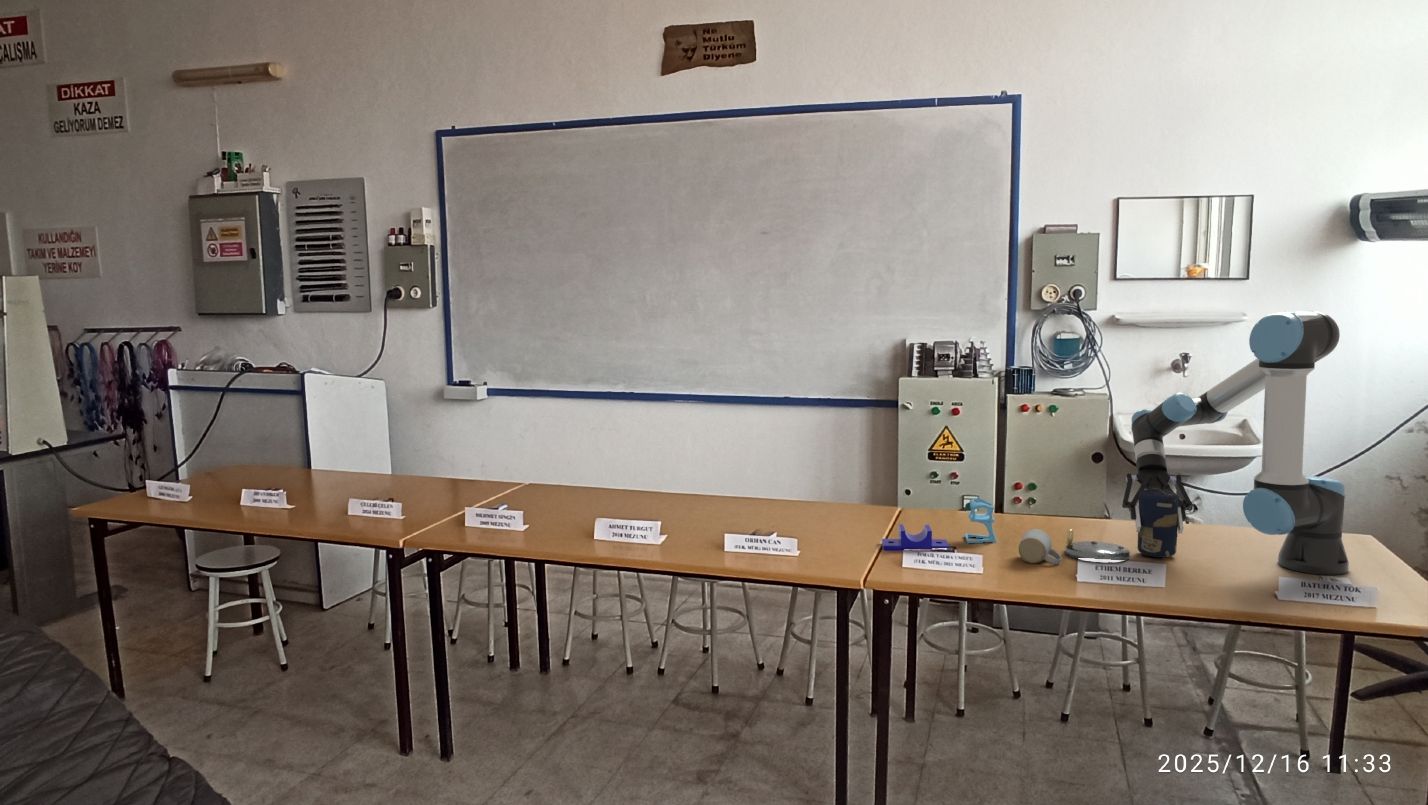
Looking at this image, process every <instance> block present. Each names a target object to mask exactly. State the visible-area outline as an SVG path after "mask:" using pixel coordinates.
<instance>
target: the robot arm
mask: <svg viewBox="0 0 1428 805" xmlns="http://www.w3.org/2000/svg"><path fill="white" fill-rule="evenodd" d="M1340 336H1341V335H1340V329H1339V325H1338V324H1337V322H1336V321H1335V319H1333V318H1332V317H1331V316H1330V315H1328V314H1327V313H1324V312H1321V311H1316V310H1309V311H1308V310H1307V311H1284V312H1283V311H1282V312H1276V313H1275V312H1274V313H1272V314H1268V315H1265V316H1263V317H1262V318H1260V320H1259V321H1258V322H1257V321H1256V323H1255V324H1254V326H1253V327H1252V329H1251V331H1250V334H1249V340H1248V344H1249V348H1250V351H1251V353H1253V355H1254V357H1255V358H1256V359H1254V360H1253V361H1251V362H1249V363H1248V364H1247V365H1245V366H1243V367H1242V368H1241V369H1239V370H1237V371H1236V372H1234V373H1233V374H1231V375H1230V376H1228V377H1227V378H1225V379H1224V380H1222V381H1221V382H1219V383H1218V384H1216V385H1214V386H1213V387H1211V388H1210V389H1209V390H1207V391H1205V392H1204V393H1202V394H1201V395H1199V396H1195V397H1190V396H1189V395H1188V394H1185V393H1183V392H1177V393H1174V394H1173V395H1171V396H1168V397H1167V398H1166V399H1165V400H1164V401H1162V403H1161V404H1159V405H1157V406H1156V407H1154V409H1150V408H1148V409H1147V408H1144V409H1141V410H1138V411H1136V412H1135V413H1133V414H1132V416H1131V433H1132V440H1133V447H1134V448H1133V449H1134V457H1135V461H1136V462H1135V465H1136V473H1137V474H1131V473H1130V472H1129V473H1126V476H1125V484H1126V488H1125V491H1124V496H1123V500H1122V504H1121V507H1122V509H1128V511H1129V514H1130V516H1129V517H1130V519H1131V520H1132V521H1133V520H1134V521H1135V522H1134V523H1135V530H1136V533H1138V532H1140V529H1141V523H1140V514H1139V505H1138V504H1139V494H1140V492H1141V491H1143V490H1149V489H1153V488H1159V489H1161V490H1167V491H1171V492H1174V493H1175V491H1174V490H1173V489H1172V488H1171V486H1170V484H1169V482H1171V484H1172V485H1173V486H1174V488H1175V490H1176V493H1177V495H1178V530H1177V533H1178V535H1179V534H1180V535H1182V534H1183V531H1184V522H1186V519H1187V514H1186V511H1190V510H1191V508H1192V505H1193V503H1192V501H1191V499H1190V496H1189V494H1188V492H1187V491H1186V489H1185V486H1184V484H1183V483H1182V476H1181V475H1180V474H1177V475H1176V476H1173V475H1172V476H1171V475H1170V474H1169V473H1168V467H1167V465H1168V464H1167V460H1166V452H1165V446H1164V445H1165V444H1164V437H1165V436H1167V435H1169V434H1170V433H1171V432H1173V431H1174V430H1176V429H1177V428H1180V427H1185V426H1195V425H1206V424H1215V423H1218V422H1221V421H1223V420H1224V419H1225V418H1226V417H1227V415H1228V412H1229V411H1231V410H1232V409H1234V408H1236V407H1237V406H1239V405H1240V404H1242V403H1244V402H1246V401H1247V400H1249V399H1251V398H1253V396H1256V395H1257V394H1258V393H1260V392H1262V391H1264V403H1263V404H1264V405H1263V424H1262V425H1263V430H1262V452H1261V470H1260V472H1259V473H1258V474H1256V475H1255V476H1254V477H1253V489H1251V490H1250V491H1249V492H1248V493H1247V494H1245V495H1244V498H1243V500H1242V510H1243V514H1244V517H1245V519H1246V520H1247V522H1248V523H1249V524H1250V525H1251V527H1252V528H1254V529H1255V530H1257V531H1258V532H1260V533H1262V534H1264V535H1269V536H1273V535H1274V536H1276V535H1277V536H1278V535H1279V536H1280V535H1281V536H1282V535H1286V537H1285V538H1284V541H1283V543H1282V546H1281V548H1280V550H1279V551H1278V557H1277V563H1278V564H1279V566H1281V567H1283V568H1285V569H1289V570H1292V571H1295V572H1299V573H1300V572H1301V573H1305V574H1314V575H1325V576H1326V575H1328V576H1331V575H1332V576H1333V575H1342V574H1343V575H1344V574H1346V573H1348V572H1349V567H1350V566H1349V563H1350V562H1349V559H1348V557H1347V552H1346V549H1345V546H1344V543H1343V525H1344V511H1345V510H1344V509H1345V499H1346V494H1345V485H1344V483H1343V481H1340V480H1337V479H1335V478H1334V479H1333V478H1328V477H1324V476H1323V477H1322V476H1315V475H1307V474H1303V466H1304V465H1303V462H1304V445H1305V444H1304V441H1305V439H1304V438H1305V422H1306V421H1305V417H1306V401H1307V400H1306V399H1307V398H1306V396H1307V378H1308V377H1307V376H1308V375H1309V374H1310V373H1311V372H1313V370H1315V368H1316V367H1315V365H1316V362H1317V363H1318V362H1319V361H1320V360H1322V359H1324V358H1325V357H1327V356H1328V355H1329V354H1331V353H1332V352H1334V350H1335V349H1336V347H1337V346H1338V343H1339V340H1340ZM1135 481H1137V482H1138V483H1139V484H1140V486H1139V488H1138V490H1137V491H1136V493H1135V495H1134V497H1133V498H1132V500H1131V501H1129V498H1130V494H1131V492H1132V491H1131V490H1132V486H1133V484H1134V483H1135Z"/></svg>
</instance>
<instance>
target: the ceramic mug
mask: <svg viewBox="0 0 1428 805" xmlns="http://www.w3.org/2000/svg"><path fill="white" fill-rule="evenodd" d="M1052 547H1053V543H1052V539H1051V537H1050V536H1049V535H1048V533H1047V532H1045V531H1043V530H1041V529H1038V528H1033V529H1029V530H1027V531H1025V533H1024V534H1023V536H1022V537H1021V540H1020V542H1019V544H1018V554H1019V556H1020V558H1021V559H1022V560H1023V561H1025V562H1027V563H1029V564H1037V563H1038V564H1039V563H1041V562H1043V561H1045V562H1047V563H1050V564H1053V565H1059V564H1060V563H1061V562H1062V559H1063V557H1062V555H1061V554H1060V553H1059V552H1057V551H1056V550H1055V549H1053V548H1052Z"/></svg>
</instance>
